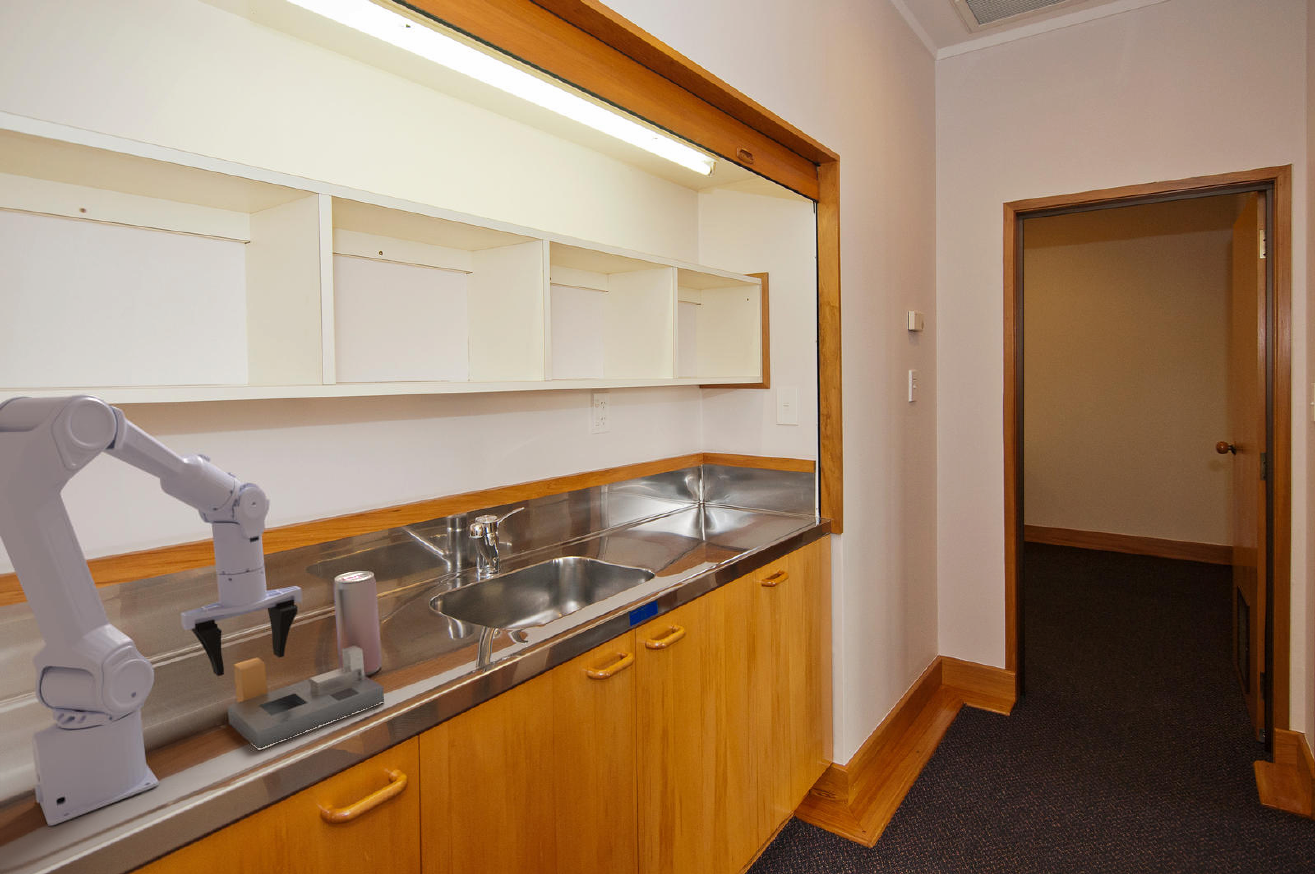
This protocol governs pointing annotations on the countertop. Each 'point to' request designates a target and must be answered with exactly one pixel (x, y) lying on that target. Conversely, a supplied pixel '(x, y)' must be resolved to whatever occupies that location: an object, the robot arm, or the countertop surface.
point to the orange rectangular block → (250, 679)
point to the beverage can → (358, 617)
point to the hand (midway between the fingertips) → (249, 664)
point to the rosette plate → (298, 710)
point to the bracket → (341, 673)
